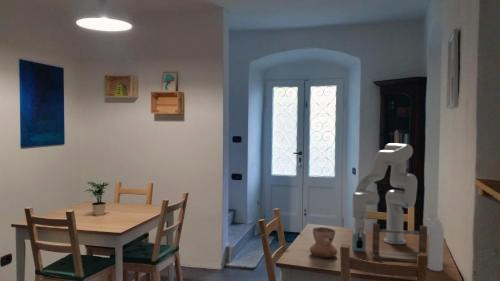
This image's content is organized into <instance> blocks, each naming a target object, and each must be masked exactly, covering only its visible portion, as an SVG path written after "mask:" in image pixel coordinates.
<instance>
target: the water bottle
mask: <svg viewBox="0 0 500 281" xmlns="http://www.w3.org/2000/svg"><path fill="white" fill-rule="evenodd" d="M431 220H432V219H431V218H429V217H426V218H425V222H431ZM428 232H429V233H428V256H427V258H428V263H427V268H428V269H429V270H431V271H434V272H441V271H443V269H444V268H443V267H444V266H443V264H444V262H443V260H444V234H445V233H444V232H445V230H444V227H443V226H442V224H441V223H440V219H439V218H434V219H433V222H432V223H431V224H430V226H429V228H428Z"/></svg>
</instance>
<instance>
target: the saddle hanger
mask: <svg viewBox="0 0 500 281" xmlns="http://www.w3.org/2000/svg"><path fill="white" fill-rule="evenodd" d="M358 235H359V234H358ZM366 236H367V233H366V231H365V230H364V235H363V234H362V240H363V248H357V235H356V236H355V233H354V231H353V230H352V240H351V242H352V244H351V245H352V246H351V247H352V249H353V250H352V251H353V252H366V250H367V249H366V247H367V246H366V244H367V243H366V239H367V238H366ZM358 238H359V236H358Z"/></svg>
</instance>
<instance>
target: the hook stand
mask: <svg viewBox="0 0 500 281" xmlns="http://www.w3.org/2000/svg"><path fill="white" fill-rule="evenodd" d="M380 225H381V224H380V223H377V222H375V223H372V245H371V246H372V249H369V253H370V255H371V258H372V260H374V261H375V260H376V261H387V260H396V261H395V262H404V261H407V262H406V263H418V262H417V255H418V254H419V253H421V252H422V253H426V254H427V248H428V247H427V246H428V244H427V243H428V241H427V240H428V239H427V238H428V236H427V235H428V227H427V226H426V225H419V230H404V229H403V230H387V229H382V228H381V229H380ZM386 232H387V233H403V234H409V235H411V234H412V235H418V237H419V239H418V240H419V241H418V252H413V251H394V250H393V251H392V250H380V233H386ZM415 261H416V262H415Z"/></svg>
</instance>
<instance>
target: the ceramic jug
mask: <svg viewBox="0 0 500 281" xmlns="http://www.w3.org/2000/svg"><path fill="white" fill-rule="evenodd" d="M336 232H337V231H336V230H335V229H332V228H329V227H323V226H319V227H318V226H317V227H314V228H312V235H313V238H314V241H315V243H313V244H312V245H311V246H310V248H309V252H310V253H311V255H313V256H314V257H316V258H320V259H330V258H334V257H336V255H337V254H338V249H337V248H336V247H335V245H333V244H332V243H333V241H334V239H335V237H336Z"/></svg>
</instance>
